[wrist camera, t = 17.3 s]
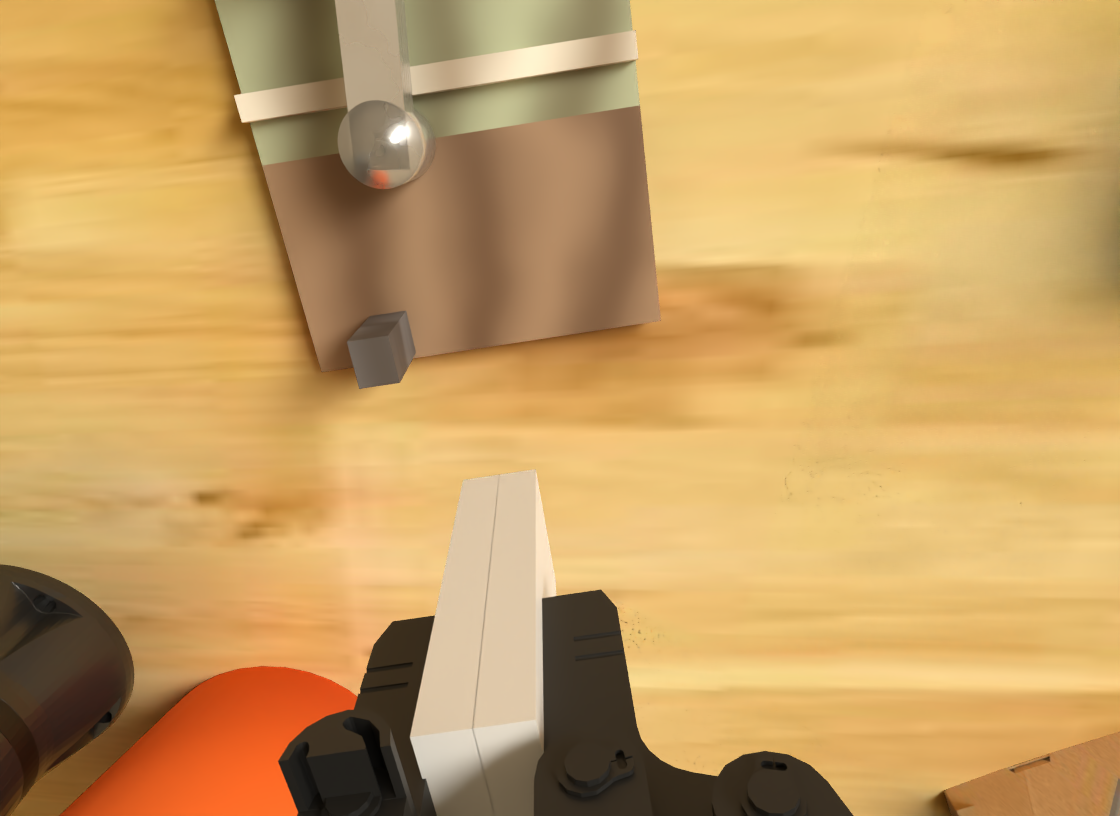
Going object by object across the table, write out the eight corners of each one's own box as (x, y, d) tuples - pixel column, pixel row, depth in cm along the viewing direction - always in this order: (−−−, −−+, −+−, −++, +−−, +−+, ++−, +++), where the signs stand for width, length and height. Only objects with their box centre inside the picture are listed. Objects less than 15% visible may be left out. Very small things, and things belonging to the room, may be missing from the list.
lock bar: (438, 181, 36) (425, 188, 31) (366, 182, 35) (342, 189, 31) (415, -127, 31) (395, -169, 26) (332, -126, 31) (298, -168, 26)
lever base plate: (329, 364, 41) (292, 404, 35) (202, -85, 33) (126, -135, 27) (656, 314, 40) (677, 346, 34) (610, -154, 32) (627, -220, 26)
